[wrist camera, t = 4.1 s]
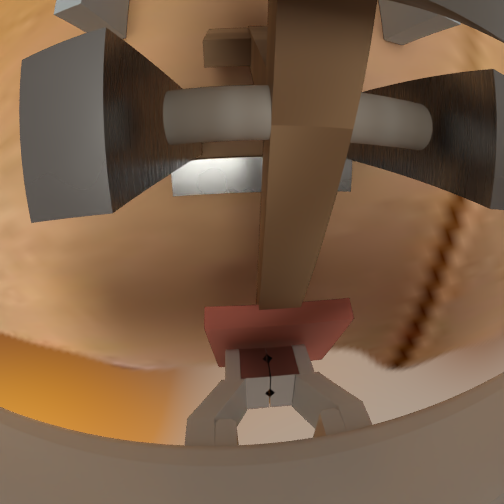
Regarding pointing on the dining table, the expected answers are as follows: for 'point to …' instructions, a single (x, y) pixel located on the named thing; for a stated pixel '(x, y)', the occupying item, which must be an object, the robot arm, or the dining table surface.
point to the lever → (301, 147)
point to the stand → (183, 155)
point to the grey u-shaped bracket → (392, 13)
